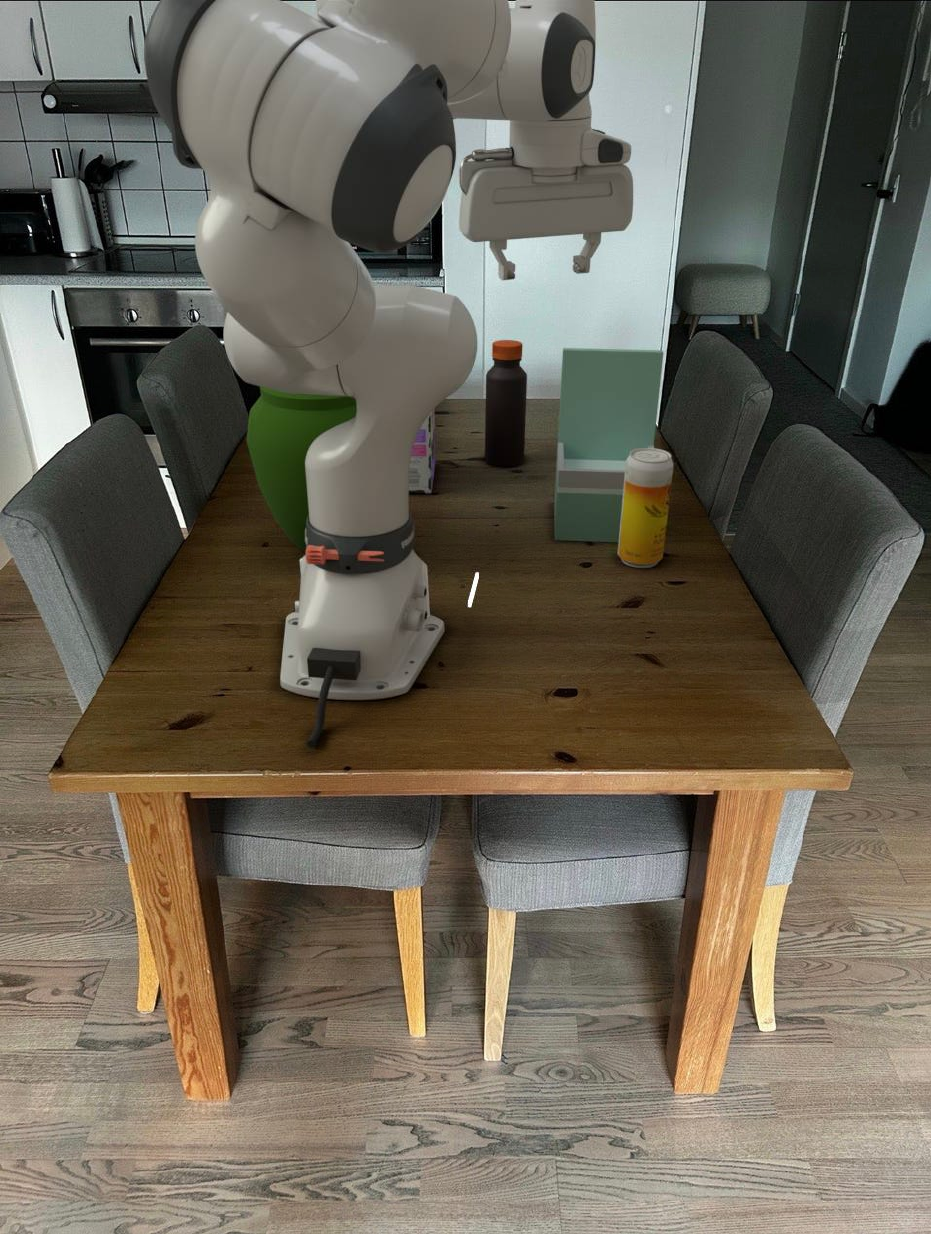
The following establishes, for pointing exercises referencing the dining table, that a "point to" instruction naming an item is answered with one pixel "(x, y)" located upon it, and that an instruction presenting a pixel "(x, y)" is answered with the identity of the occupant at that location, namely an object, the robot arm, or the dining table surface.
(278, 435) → the vase
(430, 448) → the candy box
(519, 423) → the bottle
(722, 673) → the dining table surface
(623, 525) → the beer can
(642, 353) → the shelf unit
